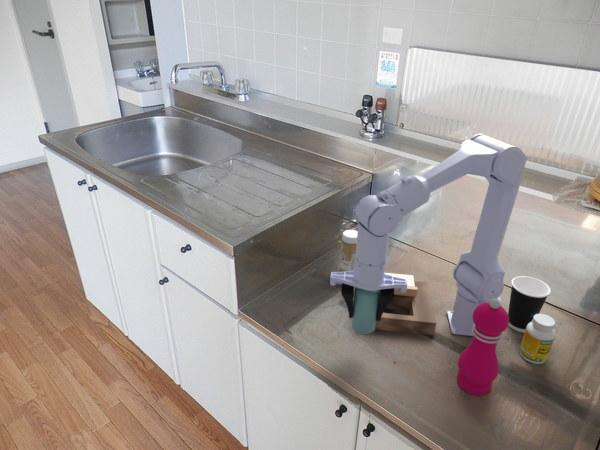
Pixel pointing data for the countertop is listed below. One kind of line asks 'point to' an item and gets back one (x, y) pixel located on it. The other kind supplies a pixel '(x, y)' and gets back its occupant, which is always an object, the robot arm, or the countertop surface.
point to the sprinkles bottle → (348, 250)
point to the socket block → (411, 313)
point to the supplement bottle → (538, 339)
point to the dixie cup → (526, 301)
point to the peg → (365, 310)
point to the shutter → (410, 285)
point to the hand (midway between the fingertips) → (364, 316)
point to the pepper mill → (482, 349)
